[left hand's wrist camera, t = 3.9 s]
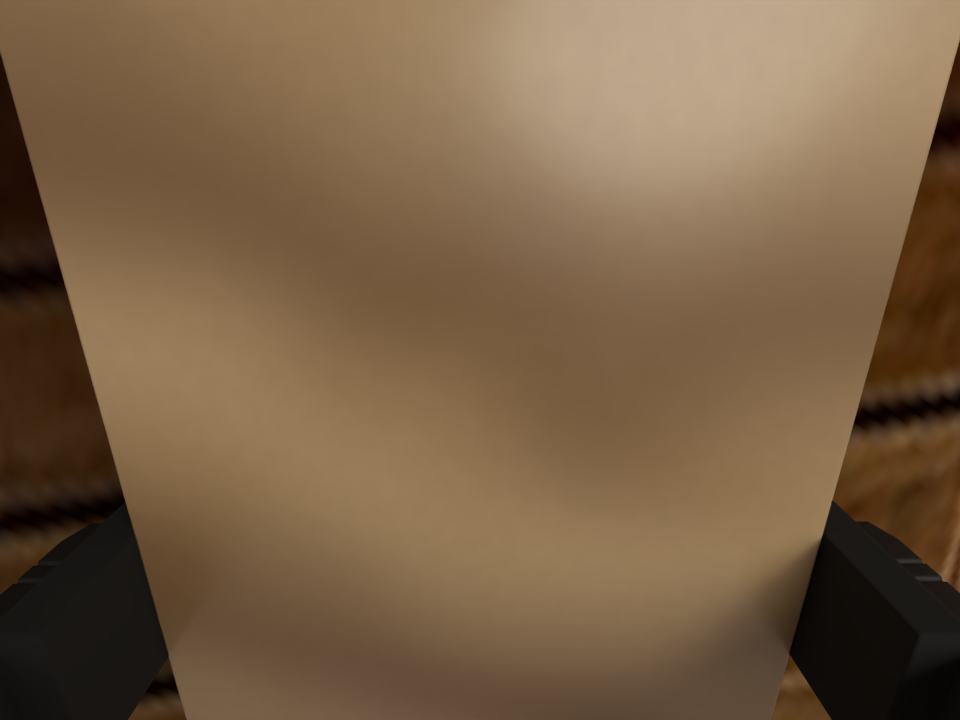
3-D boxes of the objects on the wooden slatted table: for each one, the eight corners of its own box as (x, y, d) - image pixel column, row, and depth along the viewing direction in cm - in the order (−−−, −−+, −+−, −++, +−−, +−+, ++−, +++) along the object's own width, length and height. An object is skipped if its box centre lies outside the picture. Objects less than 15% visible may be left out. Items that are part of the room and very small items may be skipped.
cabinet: (218, -289, 11) (-406, -1387, 3) (739, -288, 11) (1361, -1387, 3) (318, 503, 18) (194, 756, 10) (639, 503, 18) (762, 756, 10)
